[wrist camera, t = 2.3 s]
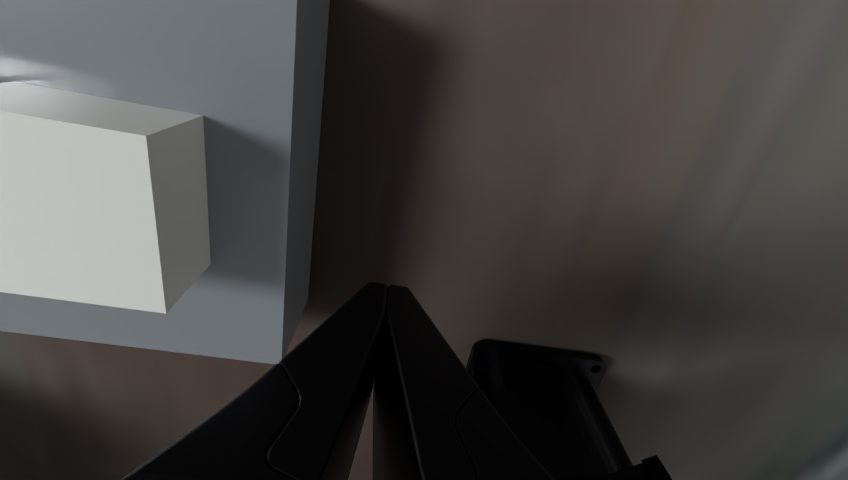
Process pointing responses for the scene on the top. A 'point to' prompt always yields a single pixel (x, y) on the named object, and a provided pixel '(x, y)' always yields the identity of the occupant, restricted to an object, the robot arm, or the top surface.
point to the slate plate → (224, 153)
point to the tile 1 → (100, 199)
